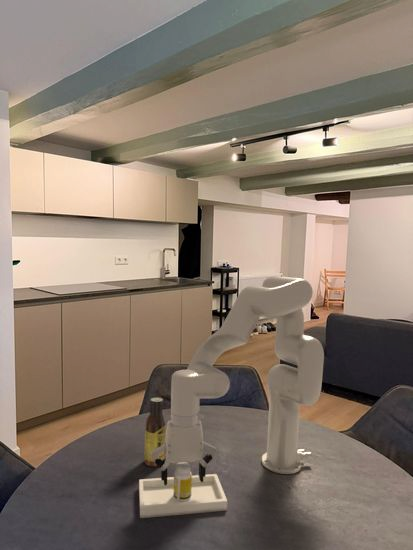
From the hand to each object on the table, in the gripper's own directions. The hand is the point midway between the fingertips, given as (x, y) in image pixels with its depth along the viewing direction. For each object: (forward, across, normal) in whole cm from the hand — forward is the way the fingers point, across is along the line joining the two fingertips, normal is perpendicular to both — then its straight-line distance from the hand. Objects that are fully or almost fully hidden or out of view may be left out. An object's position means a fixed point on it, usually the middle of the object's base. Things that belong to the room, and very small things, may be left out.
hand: (183, 480), depth 102 cm
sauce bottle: (+5, +6, -19) cm, 21 cm away
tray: (+5, 0, 0) cm, 5 cm away
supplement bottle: (+4, 0, 0) cm, 5 cm away
